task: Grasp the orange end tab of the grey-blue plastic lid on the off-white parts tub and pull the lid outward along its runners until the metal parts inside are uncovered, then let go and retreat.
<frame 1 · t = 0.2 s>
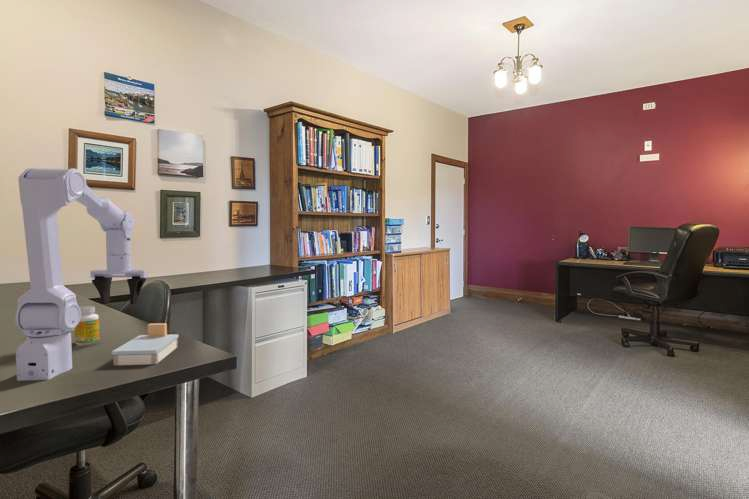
hand: (120, 303, 113), 10 cm above the table, fingers open, 7 cm apart
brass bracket: (133, 360, 93), point 1 cm above the table, touching tub
lid: (147, 337, 97), point 5 cm above the table, slide at 0.0 cm
supplement bottle: (87, 343, 110), on the table
steel bushing: (154, 355, 97), point 1 cm above the table, touching tub
tub: (148, 358, 97), on the table
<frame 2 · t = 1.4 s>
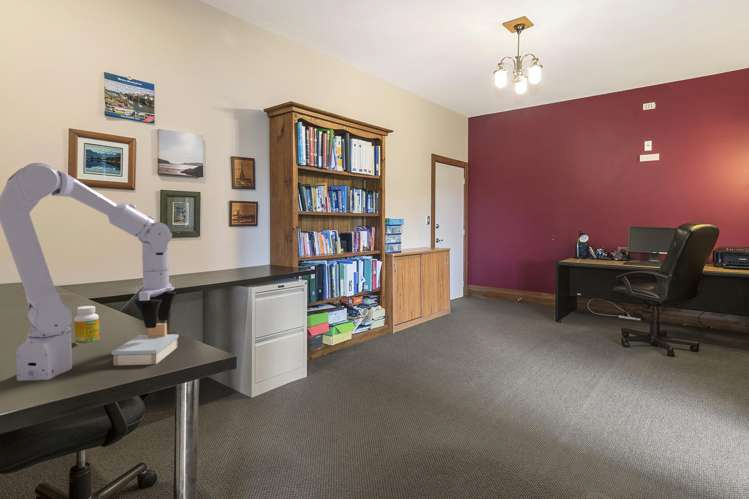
hand: (157, 323, 102), 7 cm above the table, fingers open, 7 cm apart
nothing on the table moved.
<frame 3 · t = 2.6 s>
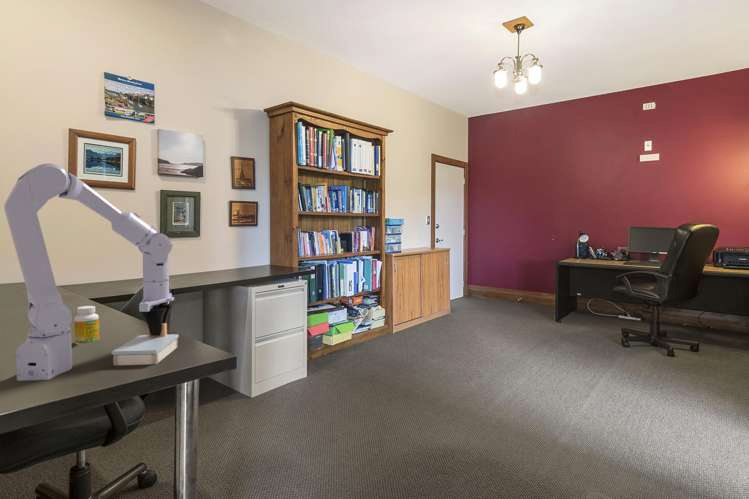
hand: (157, 334, 103), 4 cm above the table, fingers closed on lid
lid: (147, 337, 97), point 5 cm above the table, slide at 0.0 cm, touching gripper
everything else where it was.
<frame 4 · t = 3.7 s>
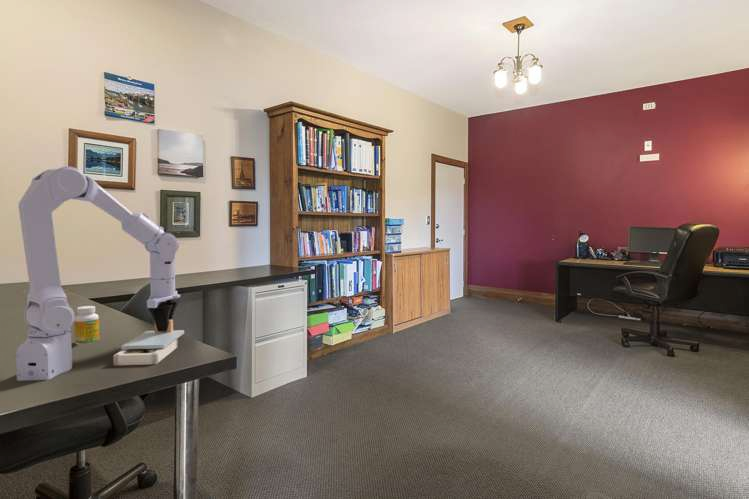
hand: (164, 330, 107), 4 cm above the table, fingers closed on lid, 2 cm apart
lid: (154, 333, 101), point 5 cm above the table, slide at 4.1 cm, touching gripper
everything else where it was.
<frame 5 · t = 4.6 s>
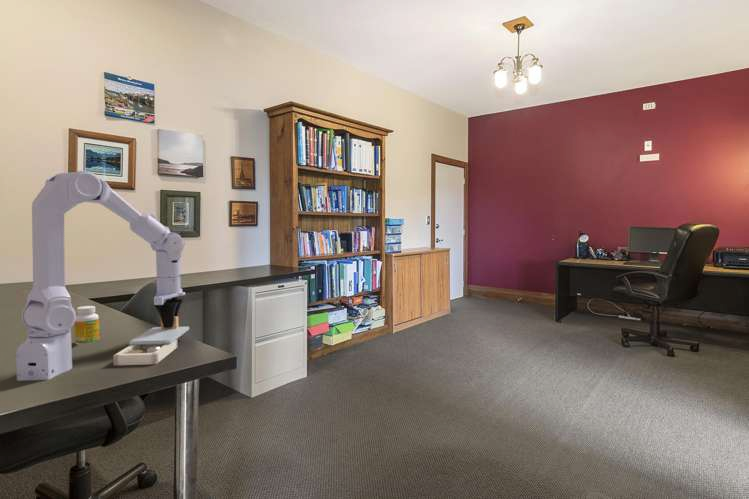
hand: (169, 326, 110), 4 cm above the table, fingers closed on lid, 2 cm apart
lid: (161, 329, 105), point 5 cm above the table, slide at 8.0 cm, touching gripper
everything else where it was.
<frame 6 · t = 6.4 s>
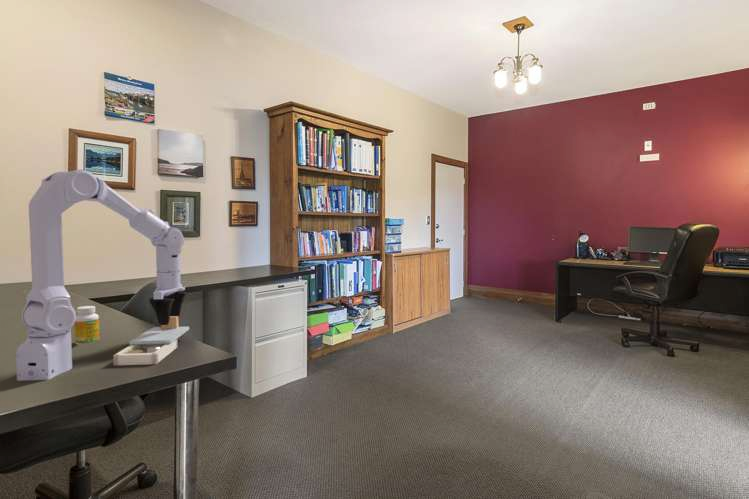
hand: (169, 321, 110), 6 cm above the table, fingers open, 7 cm apart
lid: (161, 329, 105), point 5 cm above the table, slide at 8.0 cm
everything else where it was.
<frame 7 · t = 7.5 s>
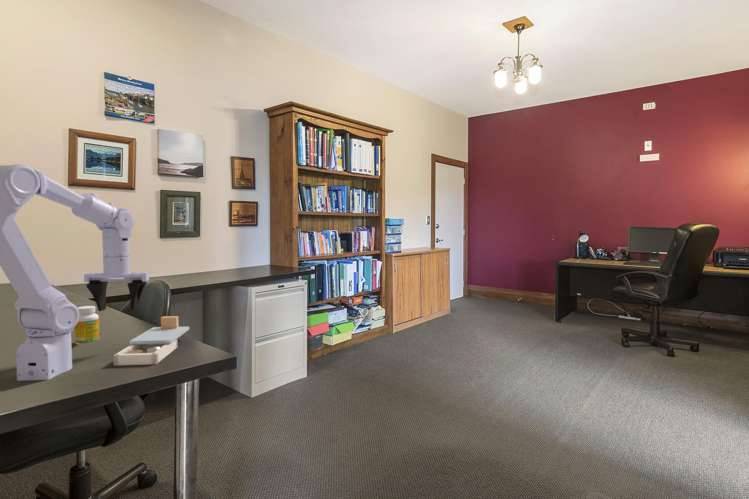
hand: (118, 309, 103), 10 cm above the table, fingers open, 7 cm apart
nothing on the table moved.
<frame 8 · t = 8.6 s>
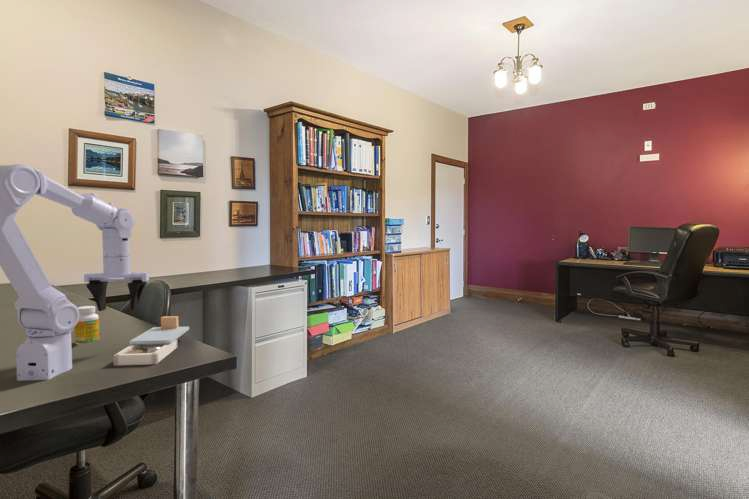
hand: (118, 309, 103), 10 cm above the table, fingers open, 7 cm apart
nothing on the table moved.
at the end: lid slide at 8.0 cm; the gripper is holding nothing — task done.
